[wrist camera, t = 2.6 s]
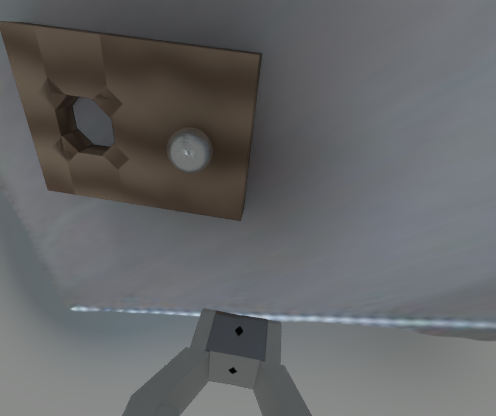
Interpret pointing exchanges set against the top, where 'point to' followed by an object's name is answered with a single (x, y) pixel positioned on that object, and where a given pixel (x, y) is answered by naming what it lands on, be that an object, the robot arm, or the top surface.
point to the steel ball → (189, 150)
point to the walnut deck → (137, 115)
